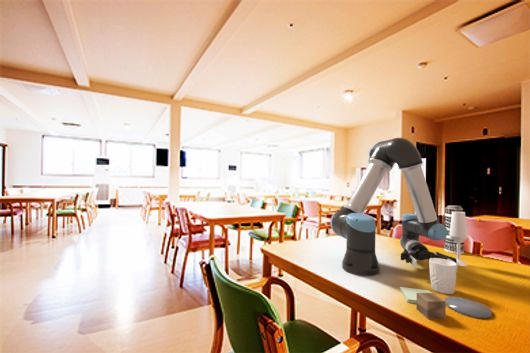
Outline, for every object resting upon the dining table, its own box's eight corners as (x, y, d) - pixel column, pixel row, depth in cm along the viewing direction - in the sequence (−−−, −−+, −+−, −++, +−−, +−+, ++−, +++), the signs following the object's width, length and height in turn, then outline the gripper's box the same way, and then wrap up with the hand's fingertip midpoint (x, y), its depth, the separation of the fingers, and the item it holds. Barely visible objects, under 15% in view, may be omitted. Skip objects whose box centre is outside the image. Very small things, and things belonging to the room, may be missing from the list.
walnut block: (427, 319, 67) (427, 301, 67) (416, 309, 72) (416, 292, 72) (445, 319, 67) (445, 301, 67) (433, 309, 72) (433, 293, 72)
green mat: (407, 302, 76) (407, 299, 76) (400, 289, 85) (400, 286, 85) (440, 306, 74) (440, 303, 74) (429, 293, 82) (429, 290, 82)
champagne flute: (467, 267, 108) (467, 213, 108) (448, 263, 112) (448, 212, 112) (468, 263, 113) (468, 212, 113) (450, 259, 117) (450, 210, 117)
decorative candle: (439, 248, 137) (439, 204, 137) (457, 249, 135) (457, 205, 136) (449, 253, 128) (449, 206, 128) (468, 254, 126) (468, 206, 127)
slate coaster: (454, 314, 69) (454, 312, 69) (438, 296, 80) (438, 294, 80) (501, 321, 66) (501, 318, 66) (478, 301, 77) (478, 299, 77)
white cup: (461, 296, 80) (461, 266, 80) (435, 293, 82) (435, 264, 82) (448, 286, 88) (448, 258, 88) (425, 284, 90) (425, 257, 90)
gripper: (447, 260, 109) (474, 279, 89) (387, 255, 116) (399, 271, 96) (447, 244, 109) (474, 259, 89) (387, 240, 116) (399, 253, 96)
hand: (435, 265), depth 92 cm, fingers open, 13 cm apart
